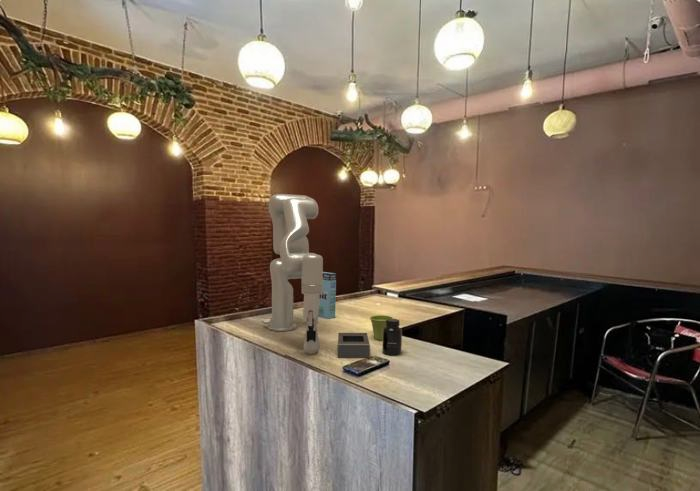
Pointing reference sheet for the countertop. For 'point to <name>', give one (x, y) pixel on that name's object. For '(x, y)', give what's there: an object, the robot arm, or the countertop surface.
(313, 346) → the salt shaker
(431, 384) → the countertop surface
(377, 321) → the plant pot
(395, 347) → the supplement bottle
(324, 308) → the gum box
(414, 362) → the countertop surface
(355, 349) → the grey slotted block
